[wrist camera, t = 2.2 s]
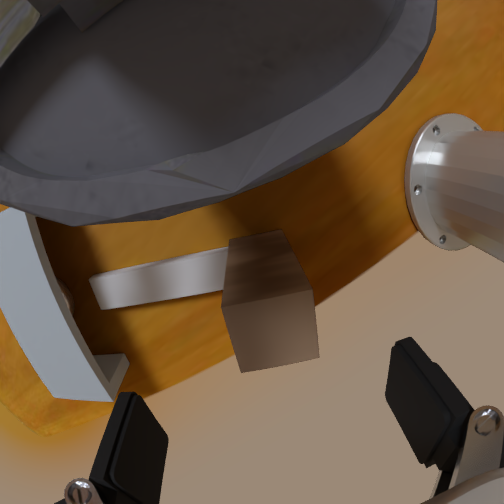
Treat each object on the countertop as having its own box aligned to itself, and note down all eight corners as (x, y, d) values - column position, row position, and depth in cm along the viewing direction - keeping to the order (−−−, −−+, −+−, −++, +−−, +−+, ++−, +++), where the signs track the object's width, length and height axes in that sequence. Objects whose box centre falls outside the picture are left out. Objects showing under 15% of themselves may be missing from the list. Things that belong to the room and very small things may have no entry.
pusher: (281, 229, 21) (312, 288, 12) (289, 276, 23) (319, 357, 13) (91, 269, 22) (27, 332, 12) (107, 309, 23) (57, 381, 14)
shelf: (62, 188, 19) (21, 201, 14) (129, 363, 25) (113, 401, 20) (9, 214, 20) (-28, 229, 14) (73, 365, 26) (54, 397, 20)
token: (63, 270, 22) (53, 277, 20) (83, 316, 24) (75, 326, 22) (31, 278, 22) (22, 285, 21) (50, 320, 24) (42, 329, 22)
